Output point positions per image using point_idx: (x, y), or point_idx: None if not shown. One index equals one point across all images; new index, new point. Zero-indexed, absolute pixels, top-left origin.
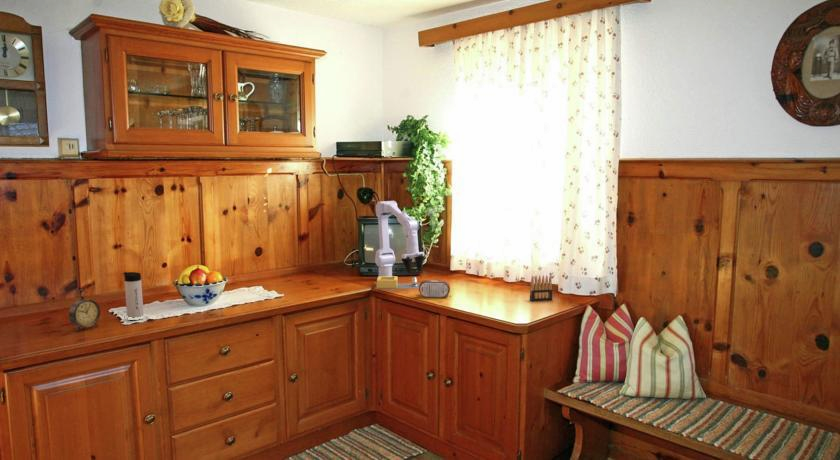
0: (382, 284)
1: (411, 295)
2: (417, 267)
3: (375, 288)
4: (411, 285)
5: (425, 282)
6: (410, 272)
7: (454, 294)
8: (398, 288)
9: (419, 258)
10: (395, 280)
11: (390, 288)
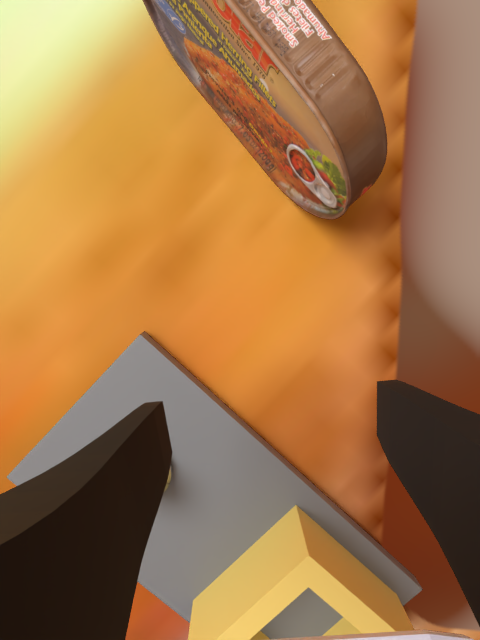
0: (380, 595)
1: (336, 293)
2: (157, 488)
3: (412, 592)
4: (170, 476)
5: (365, 82)
6: (394, 380)
7: (56, 62)
8: (295, 485)
9: (61, 617)
10: (315, 559)
11: (337, 523)
